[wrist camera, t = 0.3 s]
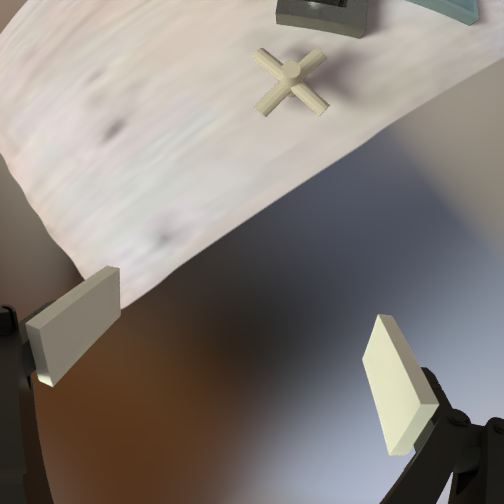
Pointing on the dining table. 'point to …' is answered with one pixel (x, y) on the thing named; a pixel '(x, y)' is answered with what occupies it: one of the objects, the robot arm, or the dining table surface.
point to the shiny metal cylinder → (326, 2)
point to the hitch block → (324, 16)
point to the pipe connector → (290, 81)
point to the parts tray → (453, 9)
